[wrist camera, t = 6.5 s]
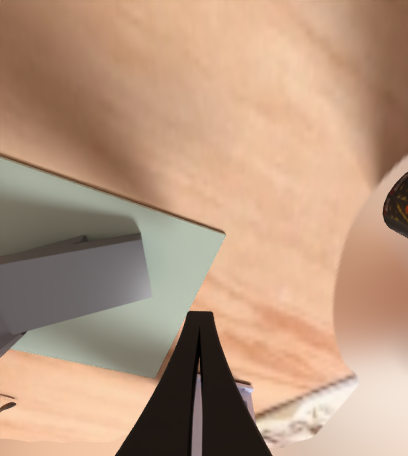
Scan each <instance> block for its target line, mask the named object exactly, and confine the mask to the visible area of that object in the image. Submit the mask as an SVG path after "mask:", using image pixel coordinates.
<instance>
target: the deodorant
mask: <svg viewBox="0 0 408 456" xmlns="http://www.w3.org/2000/svg"><path fill="white" fill-rule="evenodd" d="M383 217H384V221H385V223H386V224H387V226H388V227H389V228H390V229H392V230H394V231H396V232H397V233H399V234H401V235H403V236H405V237H407V238H408V172H407V173H406V174H404V175H403V176H402V177H401V178H400V179H399V180H398V181H397V182H396V184H395V185H394V186H393V188H392V189H391V191H390V192H389V193H388V195H387V198H386V200H385V203H384V207H383Z"/></svg>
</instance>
